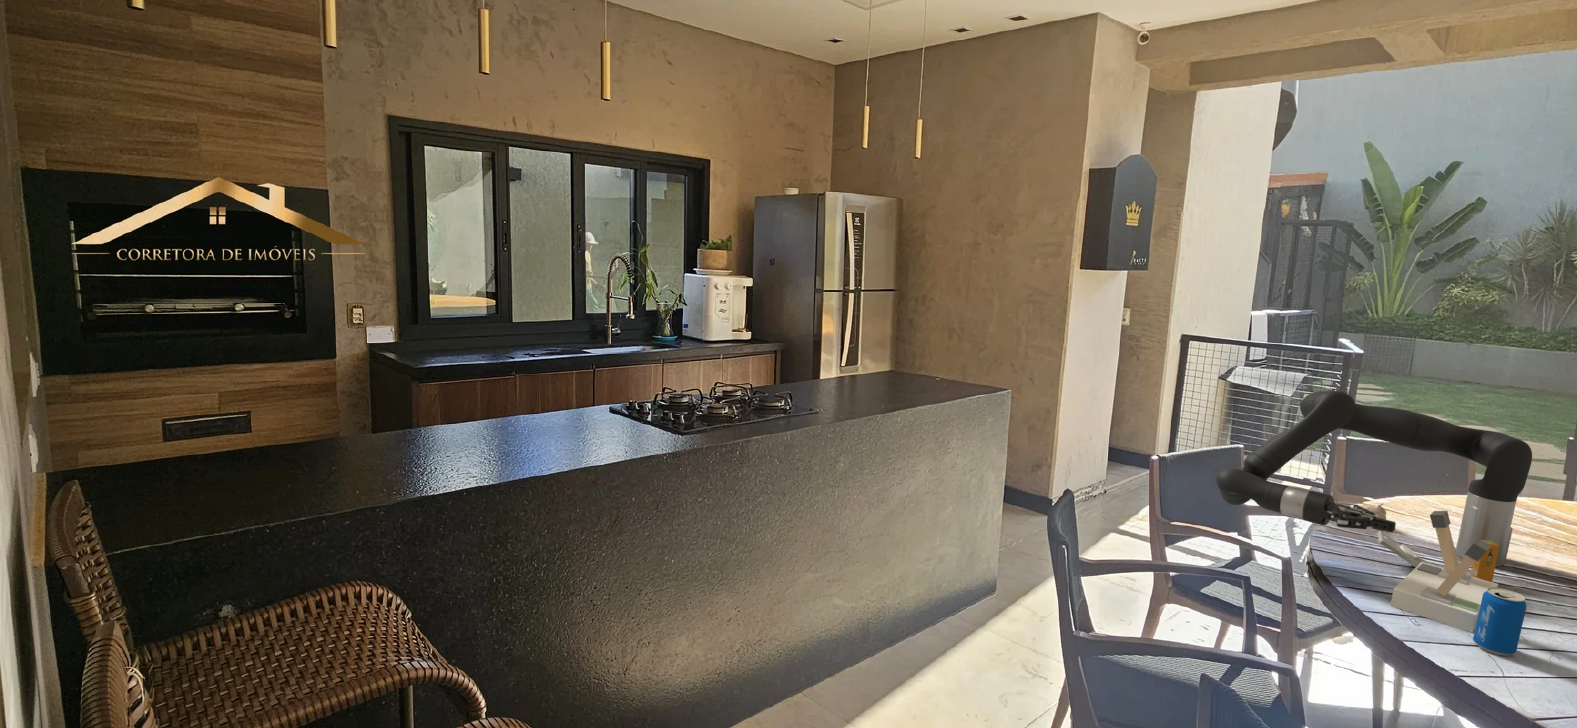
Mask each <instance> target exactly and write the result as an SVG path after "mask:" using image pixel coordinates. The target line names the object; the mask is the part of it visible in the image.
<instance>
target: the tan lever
mask: <svg viewBox="0 0 1577 728" xmlns="http://www.w3.org/2000/svg"><path fill="white" fill-rule="evenodd" d="M1490 547H1491V545H1489V544H1487V543H1485V542H1484V541H1482V540H1480V539H1477V540H1476V541H1475V542H1474V543H1473V545H1472V546H1471V547H1470V548H1469V549H1468V551H1467V552H1466V553H1465V555H1466V556H1465V557H1464V558H1461V561H1460V562H1458V563H1459V564H1458V565H1457V566H1456V568H1455V569H1454V570H1453V571H1452V572H1451V573H1450V575H1449V576H1448V577H1447V578H1446V579H1445V581H1444V582H1443V583H1442V584H1441V585H1440V586H1439V588H1438V589H1437V590H1436V591H1437V592H1438V593H1440V594H1442V595H1443V596H1446V595H1447V594H1448V593H1449V591H1450V590H1451V589H1452V588H1453V587H1454V586H1455V585H1456V583H1457V582H1458V581H1459V580H1460V579H1461V578H1462V576H1463V575H1464V574H1467V572H1468V571H1469V569H1471V567H1472V565H1473V564H1474V562H1475V561H1477V562H1478V561H1479V560H1480V558H1481V557H1482V556H1483V555H1484V554H1485V553H1486V551H1487V550H1488V549H1489V548H1490Z"/></svg>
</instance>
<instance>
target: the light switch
mask: <svg viewBox="0 0 1577 728" xmlns="http://www.w3.org/2000/svg"><path fill="white" fill-rule="evenodd" d="M1377 539H1378V543H1379V544H1380V545H1382V546H1383V547H1385V548H1387V549H1388V550H1389V551H1391V552H1392V553H1393V554H1395V555H1397V556H1398V557H1400V558H1401V559H1402V560H1404V561H1406V562H1407V563H1409V564H1410V565H1412V566H1413V567H1414V568H1416V567H1417V566H1418V565H1419V564H1420V563H1421V562H1424V563H1427V564H1430V562H1428V561H1426V560H1425V559H1423V558H1422V557H1421V556H1418V554H1416V552H1414V551H1413V550H1411V549H1410V548H1409V547H1407V546H1405V545H1402V544H1400V543H1399V542H1398V541H1396V540H1395V538H1392V537H1391V536H1389V535H1387V534H1386V533H1384V532H1383V530H1379V531H1378V532H1377Z"/></svg>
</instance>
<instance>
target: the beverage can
mask: <svg viewBox="0 0 1577 728" xmlns="http://www.w3.org/2000/svg"><path fill="white" fill-rule="evenodd" d="M1527 606H1528V605H1527V603H1526V598H1525V597H1524V596H1523V595H1521V594H1520V593H1518V592H1515V591H1513V590H1510V589H1506V588H1501V587H1498V588H1495V587H1490V588H1487V591H1486V592H1484V593H1483V596H1482V601H1481V605H1480V610H1479V614H1478V619H1477V623H1476V628H1475V629H1474V634H1473V636H1472V637H1473V638H1472V641H1473V642H1474V643H1475V644H1476V645H1477V647H1478V648H1480V649H1482V650H1483V651H1485V652H1488V653H1491V654H1494V655H1496V656H1506V657H1507V656H1510V655H1515V654H1516V653H1517V651H1518V647H1519V646H1518V645H1519V641H1520V637H1521V633H1522V628H1523V624H1524V620H1525V616H1526V611H1527Z"/></svg>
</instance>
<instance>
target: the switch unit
mask: <svg viewBox="0 0 1577 728" xmlns="http://www.w3.org/2000/svg"><path fill="white" fill-rule="evenodd" d="M1449 575H1450V573H1446V569H1445V567H1444V568H1443V567H1440V566H1437V565H1433V564H1431V563H1429V564H1427V563H1424V562H1421V563H1420V564H1419V565H1418V566H1417V567H1414V568H1413V569H1412V570H1411V572H1409V573H1408V574H1407V575H1406V576H1405V577H1404V578H1403V579H1402V580H1401V581H1400V582H1399V583H1398V584H1397V585H1396V586H1395V587H1394V588H1393V590H1392V596H1391V600H1390V601H1391V602H1390V607H1394V608H1397V609H1399V610H1403V611H1405V612H1408V611H1409V612H1408V613H1411V612H1413V613H1412V614H1414V613H1415V615H1417V614H1418V615H1417V616H1420V617H1424V618H1427V619H1430V620H1432V621H1436V622H1439V623H1441V624H1445V625H1448V626H1451V627H1454V628H1457V629H1460V630H1463V631H1465V632H1469V633H1473V632H1475V628H1476V623H1477V619H1478V614H1479V610H1480V605H1481V601H1482V596H1483V593H1484V592H1486V591H1487V588H1490V587H1495V588H1499V583H1496V582H1493V581H1492V582H1489V581H1486V580H1482V579H1479V578H1476V577H1472V576H1471V575H1470V574H1467V573H1465V574H1464V575H1463V576H1462V578H1461V579H1460V580H1459V581H1458V582H1457V583H1456V585H1455V586H1454V587H1453V588H1452V589H1451V590H1450V591H1449V593H1448V594H1447V595H1446V596H1443V595H1442V594H1440V593H1438V592H1437V591H1436V590H1437V589H1438V588H1439V586H1440V585H1441V584H1442V583H1443V582H1444V581H1445V579H1446V578H1447V577H1448V576H1449Z"/></svg>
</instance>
